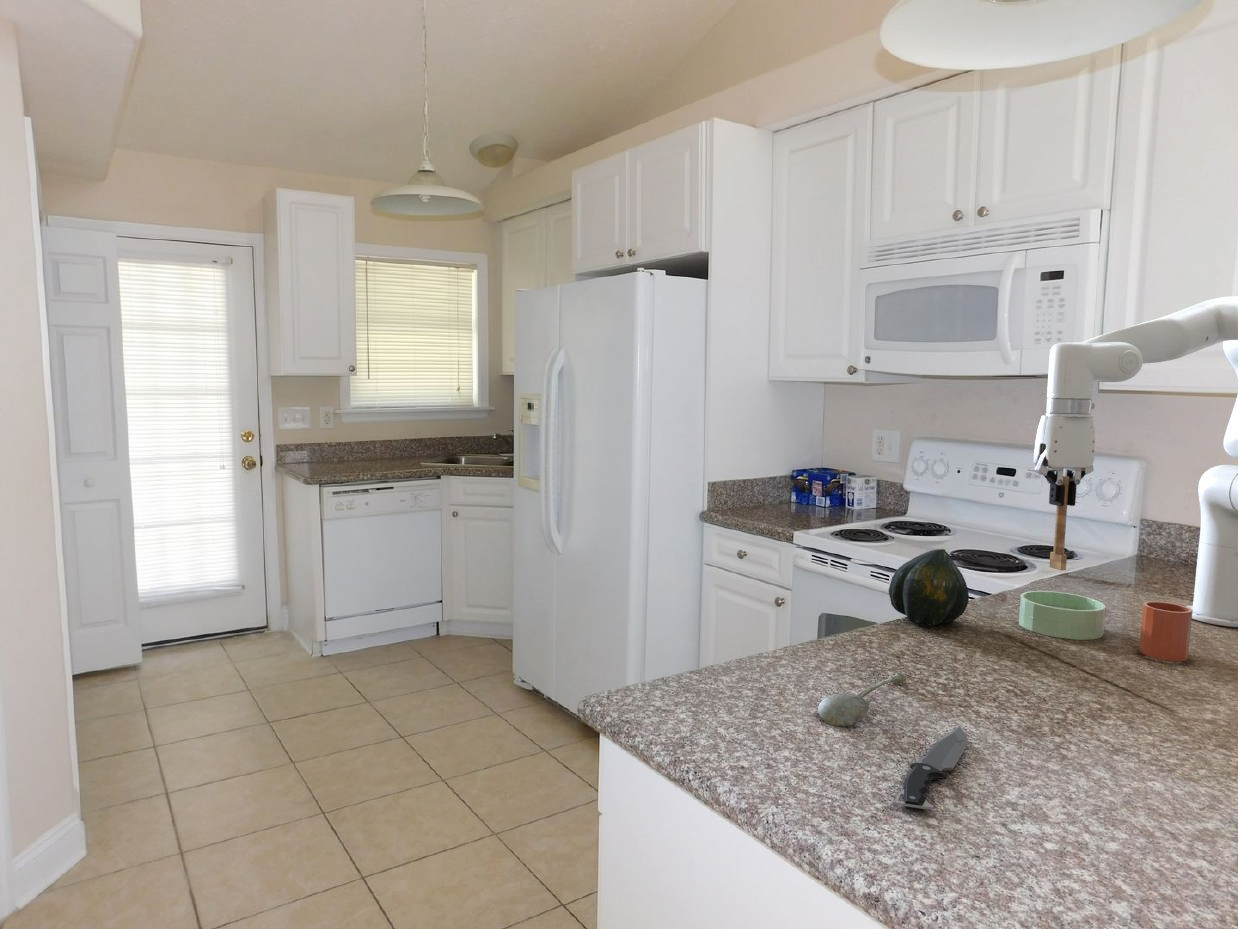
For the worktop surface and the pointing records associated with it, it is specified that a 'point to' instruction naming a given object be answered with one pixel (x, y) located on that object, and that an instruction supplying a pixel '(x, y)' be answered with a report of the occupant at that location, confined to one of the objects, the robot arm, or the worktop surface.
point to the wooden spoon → (1060, 532)
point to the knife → (931, 769)
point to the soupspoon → (850, 704)
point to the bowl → (1062, 615)
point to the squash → (929, 589)
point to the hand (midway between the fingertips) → (1061, 504)
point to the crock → (1165, 631)
